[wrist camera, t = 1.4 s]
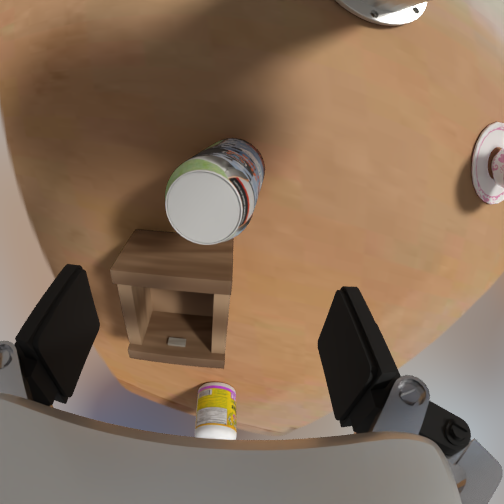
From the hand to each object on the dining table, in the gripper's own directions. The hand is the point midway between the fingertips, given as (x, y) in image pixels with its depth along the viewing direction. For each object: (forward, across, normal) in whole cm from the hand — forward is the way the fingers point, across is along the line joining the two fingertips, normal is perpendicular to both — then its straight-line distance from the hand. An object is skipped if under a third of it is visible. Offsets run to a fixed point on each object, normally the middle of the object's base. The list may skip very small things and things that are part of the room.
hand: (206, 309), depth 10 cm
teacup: (+21, -35, -8) cm, 42 cm away
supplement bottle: (+20, -1, +38) cm, 43 cm away
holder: (+20, +4, +14) cm, 25 cm away
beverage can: (+20, 0, 0) cm, 20 cm away
